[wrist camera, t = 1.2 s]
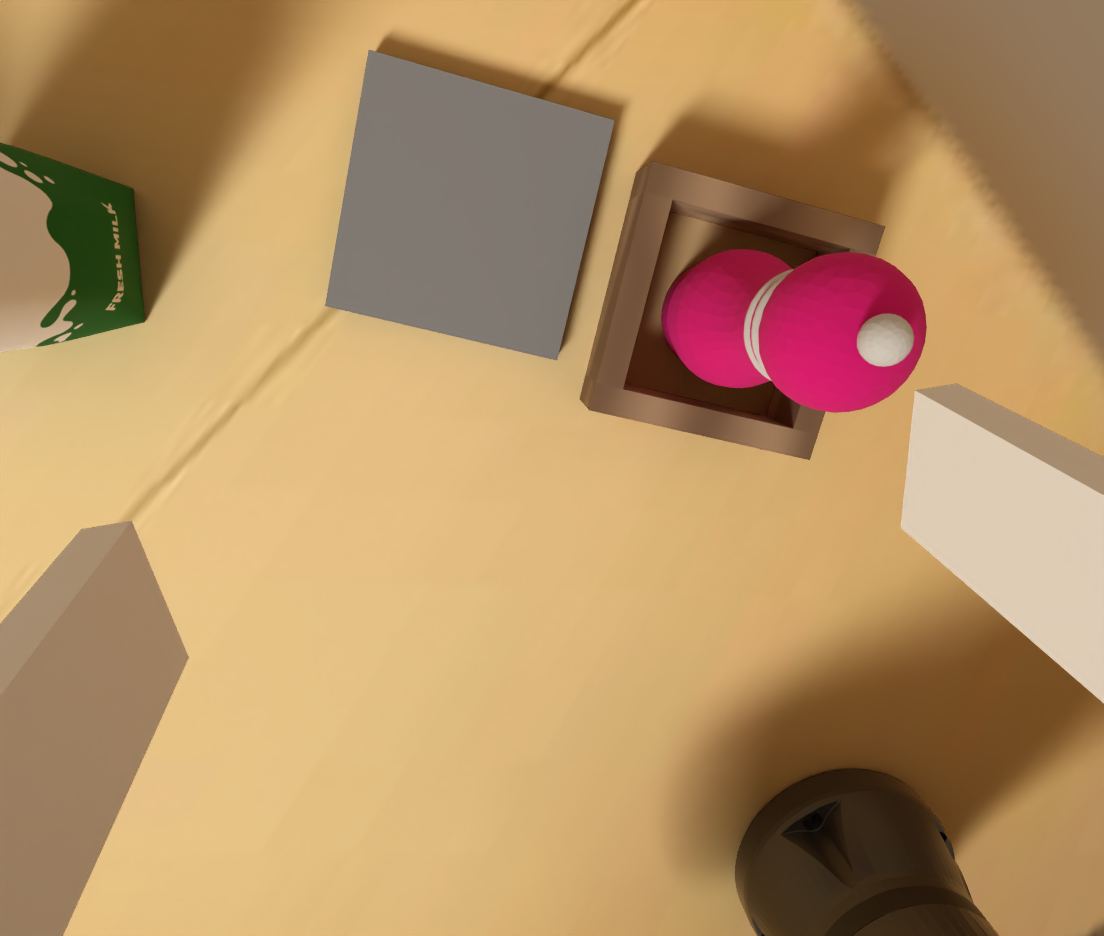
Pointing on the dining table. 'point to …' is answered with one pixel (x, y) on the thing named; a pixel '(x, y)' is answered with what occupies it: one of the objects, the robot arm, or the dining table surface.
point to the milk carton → (64, 253)
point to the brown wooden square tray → (630, 282)
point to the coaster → (465, 207)
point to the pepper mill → (798, 326)
